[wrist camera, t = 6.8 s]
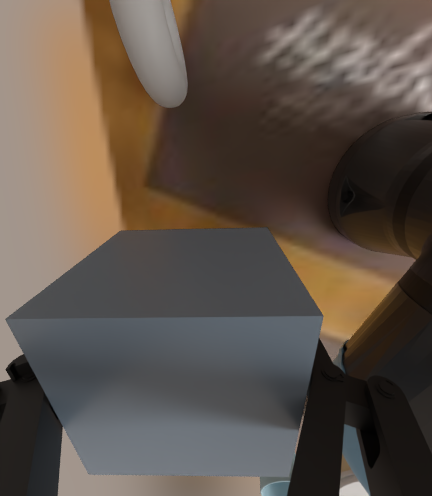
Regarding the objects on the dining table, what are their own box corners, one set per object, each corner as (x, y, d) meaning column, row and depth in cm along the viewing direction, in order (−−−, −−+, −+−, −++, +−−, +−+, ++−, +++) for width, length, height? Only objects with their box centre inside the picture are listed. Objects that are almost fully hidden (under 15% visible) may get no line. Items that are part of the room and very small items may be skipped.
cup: (291, 430, 46) (308, 502, 37) (255, 433, 47) (263, 504, 38) (288, 408, 43) (306, 480, 34) (250, 412, 44) (257, 483, 35)
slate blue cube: (120, 230, 15) (5, 319, 7) (267, 227, 15) (323, 316, 7) (144, 339, 19) (88, 474, 11) (259, 338, 19) (288, 477, 11)
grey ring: (135, -1, 20) (61, -132, 11) (170, -13, 20) (124, -158, 11) (166, 120, 24) (131, 98, 15) (196, 112, 24) (180, 85, 14)
